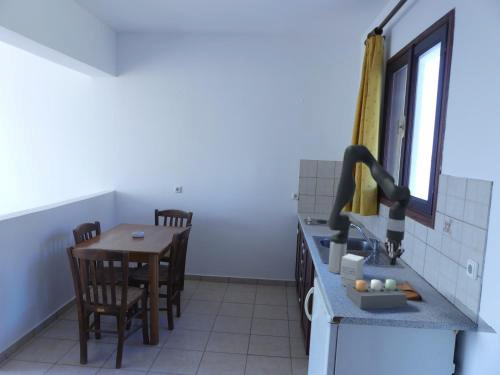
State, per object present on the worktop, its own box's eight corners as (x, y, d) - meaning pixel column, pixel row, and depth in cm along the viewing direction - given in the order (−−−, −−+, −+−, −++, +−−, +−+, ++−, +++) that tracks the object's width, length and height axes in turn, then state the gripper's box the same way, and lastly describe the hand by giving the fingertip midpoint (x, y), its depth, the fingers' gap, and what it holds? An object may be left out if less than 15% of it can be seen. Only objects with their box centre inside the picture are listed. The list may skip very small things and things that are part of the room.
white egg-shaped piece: (368, 290, 164) (369, 279, 163) (377, 290, 165) (378, 279, 164) (373, 294, 159) (374, 283, 159) (382, 294, 160) (383, 283, 159)
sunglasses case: (390, 285, 183) (398, 275, 182) (401, 292, 183) (409, 282, 182) (403, 300, 165) (412, 289, 164) (416, 308, 165) (424, 297, 164)
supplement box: (346, 280, 188) (348, 253, 186) (362, 284, 182) (364, 257, 181) (339, 284, 181) (341, 256, 179) (355, 289, 175) (358, 260, 174)
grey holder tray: (346, 295, 167) (346, 283, 166) (387, 294, 171) (388, 282, 170) (360, 309, 153) (361, 296, 153) (405, 307, 158) (406, 294, 157)
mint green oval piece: (382, 290, 165) (383, 279, 164) (391, 289, 166) (392, 278, 165) (388, 294, 161) (389, 282, 160) (397, 294, 161) (398, 282, 161)
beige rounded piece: (353, 291, 162) (354, 279, 162) (362, 290, 163) (363, 279, 163) (358, 295, 158) (359, 283, 157) (367, 295, 159) (368, 283, 158)
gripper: (380, 225, 166) (377, 260, 167) (396, 232, 153) (393, 270, 155) (394, 225, 167) (391, 260, 169) (412, 232, 154) (408, 269, 156)
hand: (392, 265), depth 162 cm, fingers closed
